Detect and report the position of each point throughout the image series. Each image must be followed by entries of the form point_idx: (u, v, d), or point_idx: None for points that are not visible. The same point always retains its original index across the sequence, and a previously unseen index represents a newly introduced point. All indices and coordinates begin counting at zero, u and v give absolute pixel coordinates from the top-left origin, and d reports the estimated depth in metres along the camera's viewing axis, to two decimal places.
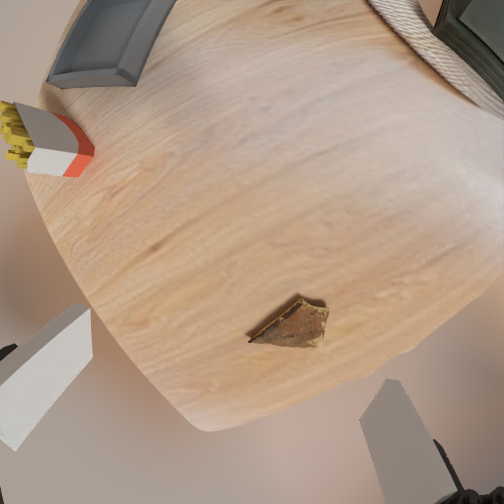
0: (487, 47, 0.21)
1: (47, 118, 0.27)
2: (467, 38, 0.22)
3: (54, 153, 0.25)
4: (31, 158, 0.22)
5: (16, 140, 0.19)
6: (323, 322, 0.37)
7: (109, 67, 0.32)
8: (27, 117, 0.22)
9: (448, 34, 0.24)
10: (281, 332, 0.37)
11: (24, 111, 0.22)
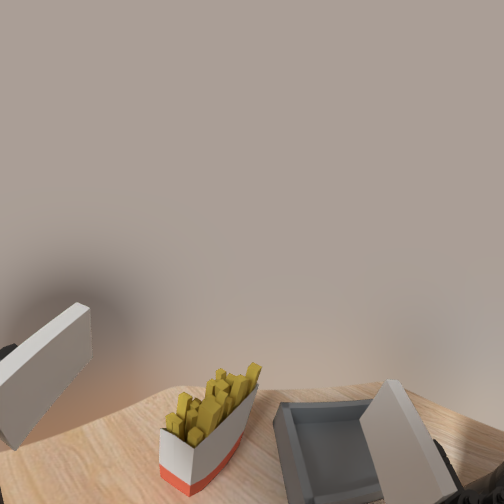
0: None
1: (236, 432, 0.26)
2: None
3: (187, 465, 0.18)
4: (178, 440, 0.17)
5: (204, 418, 0.18)
6: None
7: (309, 476, 0.26)
8: (237, 413, 0.23)
9: None
10: None
11: (245, 404, 0.24)
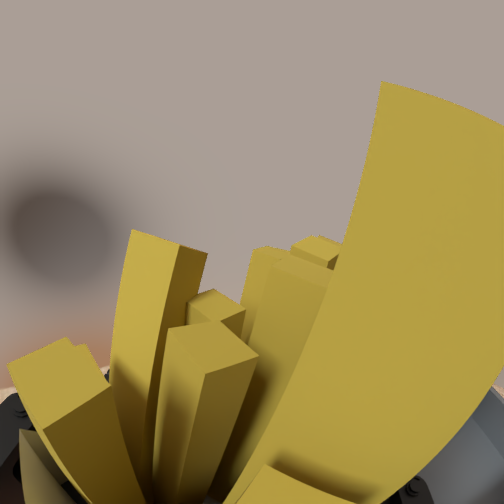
0: None
1: None
2: None
3: None
4: None
5: (440, 308, 0.01)
6: None
7: None
8: None
9: None
10: None
11: None
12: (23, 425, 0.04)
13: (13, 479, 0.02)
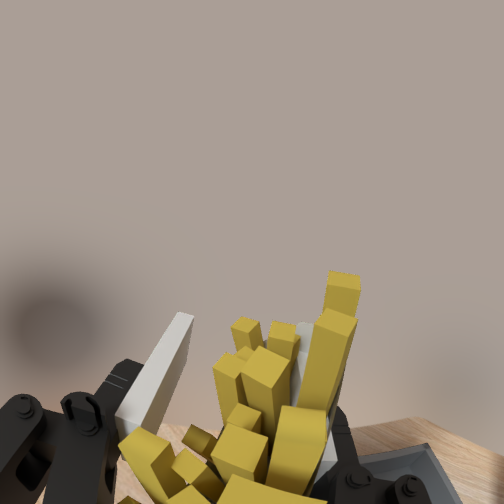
0: None
1: None
2: None
3: None
4: None
5: None
6: None
7: None
8: None
9: None
10: None
11: (335, 396, 0.09)
12: (26, 427, 0.04)
13: (16, 481, 0.02)
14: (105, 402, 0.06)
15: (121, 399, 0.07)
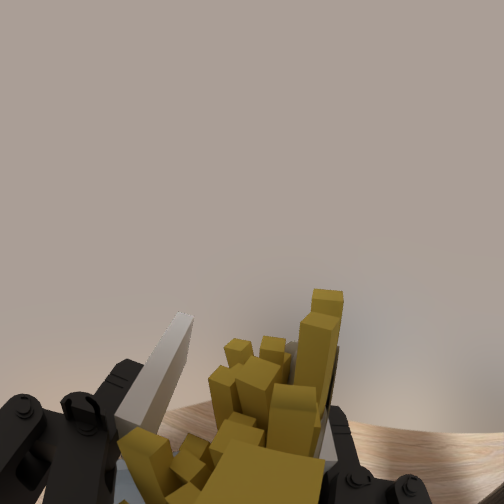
0: None
1: None
2: None
3: None
4: None
5: None
6: None
7: None
8: None
9: None
10: None
11: (328, 408, 0.09)
12: (26, 427, 0.04)
13: (16, 481, 0.02)
14: (105, 402, 0.06)
15: (121, 399, 0.07)
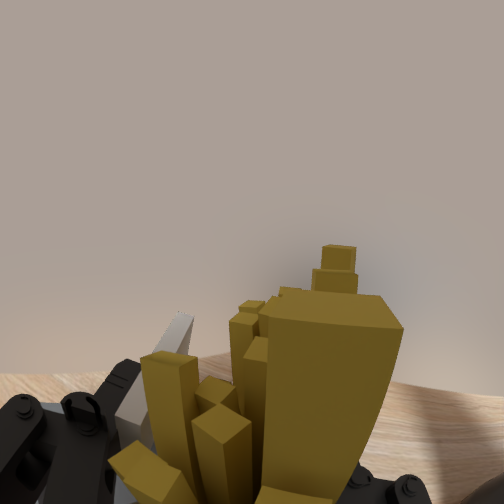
0: None
1: None
2: None
3: None
4: None
5: (320, 415, 0.03)
6: None
7: None
8: None
9: None
10: None
11: None
12: (26, 427, 0.04)
13: (16, 481, 0.02)
14: (105, 402, 0.06)
15: (121, 399, 0.07)
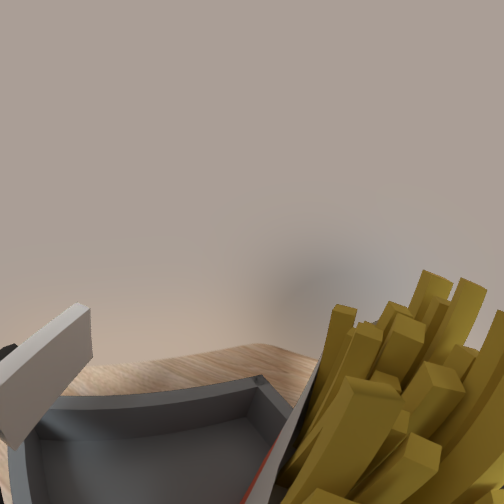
0: None
1: None
2: None
3: None
4: None
5: None
6: None
7: None
8: None
9: None
10: None
11: None
12: None
13: None
14: None
15: None
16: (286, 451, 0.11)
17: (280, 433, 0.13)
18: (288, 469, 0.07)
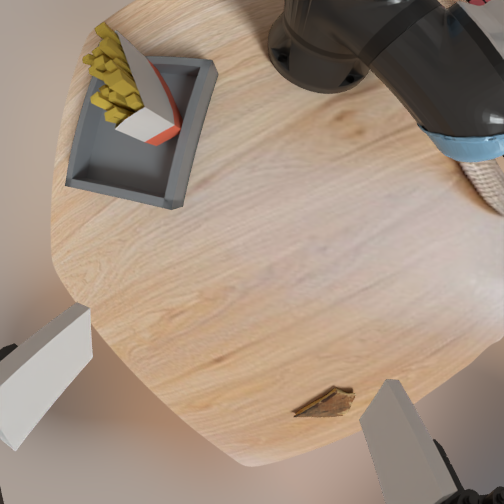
0: None
1: (145, 65, 0.24)
2: None
3: (156, 118, 0.23)
4: (132, 117, 0.20)
5: (122, 87, 0.17)
6: (350, 402, 0.43)
7: (144, 175, 0.35)
8: (130, 58, 0.19)
9: None
10: (319, 410, 0.44)
11: (127, 48, 0.19)
12: None
13: None
14: None
15: None
16: None
17: None
18: None
